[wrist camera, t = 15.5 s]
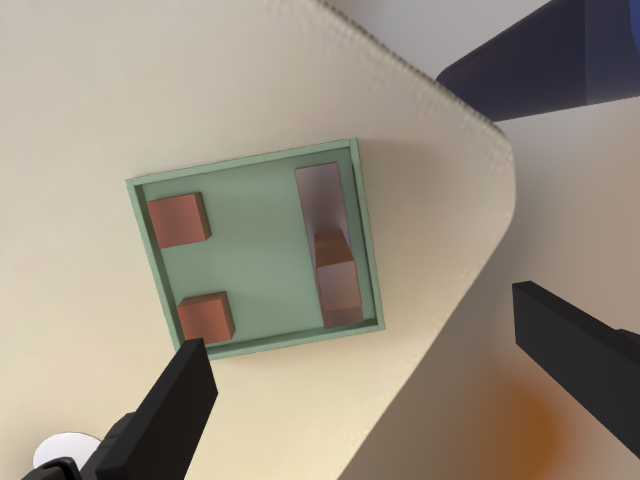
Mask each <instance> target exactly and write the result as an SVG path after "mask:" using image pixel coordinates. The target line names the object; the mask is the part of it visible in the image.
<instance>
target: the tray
mask: <svg viewBox="0 0 640 480" xmlns="http://www.w3.org/2000/svg"><path fill="white" fill-rule="evenodd" d="M335 161H336V162H338V167H339V173H340V180H341V186H342V192H343V198H344V204H345V210H346V216H347V222H348V229H349V235H350V241H351V247H352V253H353V257H354V259H355V262H356V269H357V275H358V281H359V287H360V293H361V299H362V306H361V308H362V314H363V321H364V322H361V323H355V324H350V325H344V326H338V327H333V328H327V329H325V328H324V324H323V318H322V313H321V308H320V303H319V297H318V292H317V287H316V282H315V276H314V271H313V266H312V260H311V255H310V250H309V245H308V239H307V234H306V229H305V224H304V218H303V213H302V208H301V203H300V197H299V192H298V187H297V182H296V176H295V171H294V170H295V169H296V168H302V167H307V166H313V165H318V164H324V163H329V162H335ZM125 182H126V186H127V189H128V193H129V196H130V199H131V203H132V206H133V209H134V213H135V216H136V220H137V223H138V226H139V230H140V233H141V237H142V240H143V243H144V247H145V250H146V254H147V257H148V260H149V264H150V267H151V271H152V274H153V277H154V281H155V284H156V287H157V291H158V294H159V298H160V301H161V304H162V308H163V311H164V315H165V318H166V321H167V325H168V328H169V332H170V335H171V338H172V342H173V345H174V349H175V352H176V353H177V351H178V350H179V348H180V347H181V345H182V344H183V343H184V341H185V340H186V339H185V336H184V332H183V329H182V325H181V322H180V318H179V315H178V311H177V308H176V307H177V306H178V305H179V303H180V302H181V301H182V300H183V299H184V298H190V297H195V296H201V295H206V294H212V293H218V292H223V291H226V293H227V297H228V301H229V305H230V309H231V313H232V317H233V321H234V325H235V329H236V330H235V333H234V335H233V338H232V340H229V341H223V342H218V343H212V344H206V345H205V347H206V351H207V355H208V358H209V361H210V360H216V359H221V358H227V357H233V356H238V355H244V354H250V353H255V352H261V351H267V350H272V349H278V348H284V347H289V346H295V345H301V344H306V343H312V342H318V341H323V340H329V339H334V338H340V337H346V336H351V335H357V334H363V333H368V332H374V331H379V330H385V323H384V317H383V310H382V303H381V297H380V290H379V283H378V277H377V270H376V263H375V257H374V250H373V244H372V237H371V230H370V224H369V217H368V210H367V204H366V197H365V190H364V184H363V177H362V170H361V164H360V157H359V150H358V144H357V138H350V139H345V140H339V141H334V142H328V143H323V144H317V145H312V146H307V147H301V148H296V149H290V150H285V151H279V152H274V153H268V154H263V155H257V156H252V157H246V158H241V159H236V160H230V161H225V162H219V163H214V164H208V165H203V166H197V167H192V168H186V169H181V170H176V171H170V172H165V173H159V174H154V175H148V176H143V177H137V178H132V179H126V180H125ZM200 191H201V193H202V197H203V201H204V205H205V209H206V213H207V217H208V221H209V225H210V229H211V233H212V236H211V237H210V238H208V239H207V240H206V241H201V242H195V243H190V244H184V245H179V246H173V247H168V248H162V249H160V248H159V244H158V241H157V237H156V234H155V230H154V227H153V223H152V220H151V216H150V213H149V209H148V206H147V202H149V201H153V200H156V199H161V198H167V197H172V196H178V195H183V194H189V193H194V192H200Z"/></svg>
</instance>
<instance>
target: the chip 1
mask: <svg viewBox="0 0 640 480" xmlns="http://www.w3.org/2000/svg"><path fill="white" fill-rule="evenodd" d="M147 206H148V209H149V213H150V216H151V220H152V223H153V227H154V230H155V234H156V237H157V241H158V244H159V248H160V249H162V248H168V247H173V246H179V245H184V244H190V243H195V242H201V241H206V240H207V239H208V238H210V237H211V236H212V233H211V229H210V225H209V221H208V217H207V213H206V209H205V205H204V201H203V197H202V193H201V191H200V192H194V193H189V194H183V195H178V196H172V197H167V198H161V199H156V200H153V201H149V202H147Z"/></svg>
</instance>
